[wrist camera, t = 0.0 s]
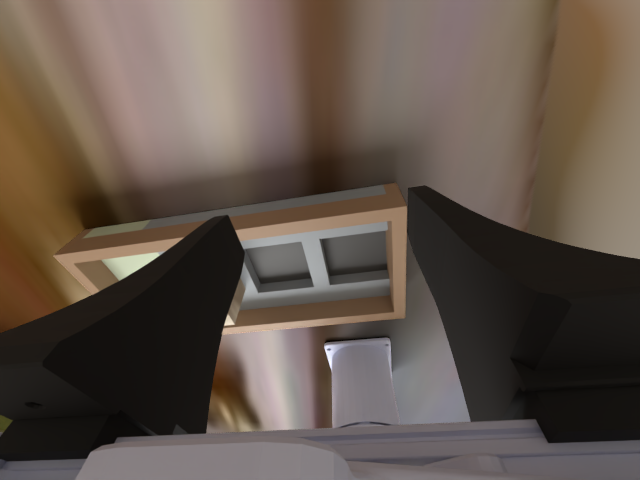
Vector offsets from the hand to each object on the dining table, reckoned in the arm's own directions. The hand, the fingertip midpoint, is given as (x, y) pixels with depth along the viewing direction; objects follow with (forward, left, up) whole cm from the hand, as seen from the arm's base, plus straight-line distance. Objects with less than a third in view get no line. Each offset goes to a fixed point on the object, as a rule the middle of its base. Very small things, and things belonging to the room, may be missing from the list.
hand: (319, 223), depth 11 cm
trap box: (-10, +8, -10) cm, 17 cm away
